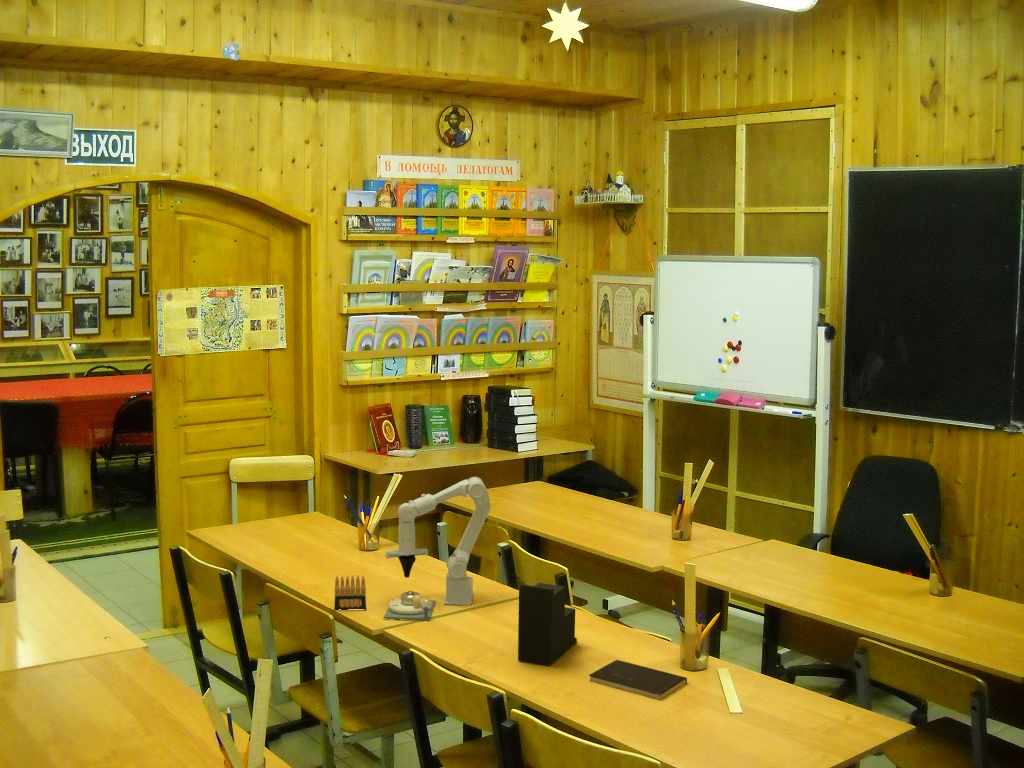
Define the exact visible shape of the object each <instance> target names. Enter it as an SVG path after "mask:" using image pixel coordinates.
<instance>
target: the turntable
mask: <svg viewBox="0 0 1024 768" xmlns="http://www.w3.org/2000/svg"><path fill="white" fill-rule="evenodd" d="M393 599H394V600H393ZM393 599H392V600H390V601H389V602H388V607H389V610H390V611H392V612H395V613H399V614H419V613H424V610H422V608H421V602H422V601H423V600H429V601H430V599H428V598H425V597H421V594H420V595H414V596H413V606H405V605H402V604H401V597H397V598H393ZM430 602H431V601H430ZM428 611H429V610H428Z"/></svg>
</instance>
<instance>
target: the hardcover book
mask: <svg viewBox="0 0 1024 768" xmlns="http://www.w3.org/2000/svg"><path fill="white" fill-rule="evenodd" d="M588 676H589V678H590V679H589V681H590V680H591V682H594V683H598V684H602V685H605V686H608V687H612V688H616V689H619V690H623V691H627V692H630V693H635V694H639V695H642V696H645V697H649V698H652V699H657V700H661V699H663V698H665V697H667V695H669V694H671V693H672V692H674V691H675V690H677V689H679V688H680V687H682V686H683V685H685V684H687V683H688V677H686V676H682V675H678V674H674V673H670V672H667V671H663V670H659V669H655V668H650V667H647V666H643V665H639V664H635V663H633V662H632V663H631V662H629V661H623V660H620V659H615V660H613V661H611V662H610V663H608V664H607V665H605V666H603V667H600V668H599V669H597V670H595V671H594V672H591V673H590V674H588Z"/></svg>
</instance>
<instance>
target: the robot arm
mask: <svg viewBox="0 0 1024 768" xmlns="http://www.w3.org/2000/svg"><path fill="white" fill-rule="evenodd" d="M458 496H459V497H463V498H468V496H469V497H470V498H471V500H472V501H473V503H474V506H475V508H474V510H473V513H472V515H471V517H470V520H469V522H468V523H467V526H466V528H465V530H464V532H463V534H462V537H461V539H460V540H459V543H458V545H457V547H456V548H455V550H454V551H453V553H452V554H451V555H450V556H449V557H448V558H447V560H446V567H447V569H448V572H447V574H446V575H445V585H446V586H445V599H444V602H443V605H454V604H455V605H456V606H457V605H458V606H461V605H463V606H472V603H473V599H474V579H473V578H474V577H472V576H468V575H467V571H468V569H467V568H468V567H467V565H468V563H469V559H470V555H471V553H472V550H473V549H474V545H475V544H476V542H477V540H478V538H479V535H480V533H481V531H482V528H483V527H484V524H485V522H486V519H487V518H488V515H489V514H490V511H491V501H490V496H489V490H488V489H487V487H486V485H485V484H484V481H483V479H482V478H480V477H478V476H472V477H470V478H468V479H467V478H466V479H462V480H461V481H459V482H457V483H455V484H453V485H451V486H449V487H447V488H445V489H443V490H441V491H439V492H437V493H435V494H430V493H426V494H425V493H422V494H421V495H420V497H418V498H416V499H415V498H414V500H412V499H411V500H409V501H408V503H407V502H404V503H402V504H401V505H400V506H399V507H398V509H397V515H398V518H399V519H398V531H397V532H398V534H397V535H398V540H397V541H398V549H394V550H390V551H385V558H386V559H393V558H397V559H398V561H399V562H400V564H401V568H402V572H403V576H404V578H410V576H411V575H410V574H411V571H412V568H413V565H414V563H416V556H429V553H428V552H429V550H428V549H427V548H416V525H415V519H416V517H420V516H423V515H425V514H427V513H429V512H431V511H433V510H436V507H437V505H438V504H440V503H443V502H446V501H448V500H450V499H452V498H453V499H454V498H456V497H458Z"/></svg>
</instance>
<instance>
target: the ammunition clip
mask: <svg viewBox="0 0 1024 768" xmlns="http://www.w3.org/2000/svg"><path fill="white" fill-rule="evenodd" d="M338 576H339V575H336V577H335V580H334V582H335V585H334V605H333V606H334V607H333V608H334V609H333V610H339V609H341V610H348V609H366V610H367V598H366V597H367V595H366V594H367V592H366V579H365V576H364V574H363V575H362V577H361V580H360V576H359V575H356V579H355V577H354V575H351V579H350V578H349V576H348V575H346V578H345V579H344V576H343V575H341V577H340V580H339V577H338ZM355 580H356V581H355ZM360 581H361V582H360ZM355 583H356V584H355Z"/></svg>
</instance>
